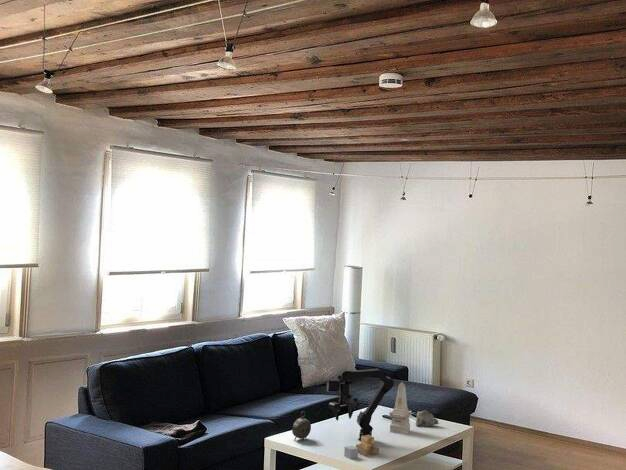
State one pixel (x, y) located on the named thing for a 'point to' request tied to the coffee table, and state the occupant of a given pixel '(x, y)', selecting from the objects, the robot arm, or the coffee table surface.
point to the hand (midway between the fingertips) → (343, 419)
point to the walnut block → (367, 450)
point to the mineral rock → (425, 419)
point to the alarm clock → (301, 428)
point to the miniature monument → (400, 413)
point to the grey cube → (351, 452)
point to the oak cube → (367, 441)
